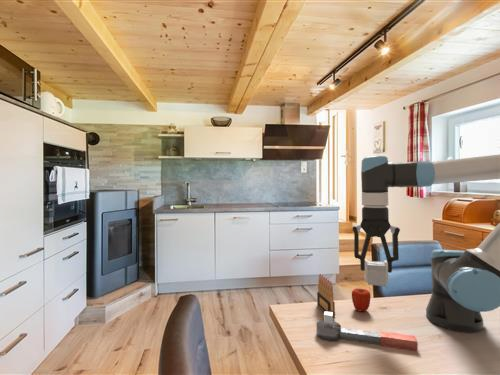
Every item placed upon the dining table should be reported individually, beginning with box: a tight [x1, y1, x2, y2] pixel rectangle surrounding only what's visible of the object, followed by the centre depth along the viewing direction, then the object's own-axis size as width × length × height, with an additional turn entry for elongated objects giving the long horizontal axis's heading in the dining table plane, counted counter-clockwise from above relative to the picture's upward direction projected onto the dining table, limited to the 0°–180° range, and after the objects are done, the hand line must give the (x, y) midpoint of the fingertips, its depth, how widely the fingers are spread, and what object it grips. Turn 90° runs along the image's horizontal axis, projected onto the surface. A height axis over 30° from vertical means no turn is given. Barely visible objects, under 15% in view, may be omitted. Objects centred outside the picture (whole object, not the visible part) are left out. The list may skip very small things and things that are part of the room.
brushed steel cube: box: [367, 260, 387, 287], centre depth 88 cm, size 5×5×6 cm
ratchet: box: [316, 311, 419, 352], centre depth 82 cm, size 26×7×6 cm, turn 71°
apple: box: [351, 288, 371, 312], centre depth 101 cm, size 6×6×8 cm
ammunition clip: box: [316, 273, 336, 318], centre depth 102 cm, size 11×2×12 cm, turn 10°
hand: (376, 281), depth 88 cm, fingers closed on brushed steel cube, 5 cm apart
